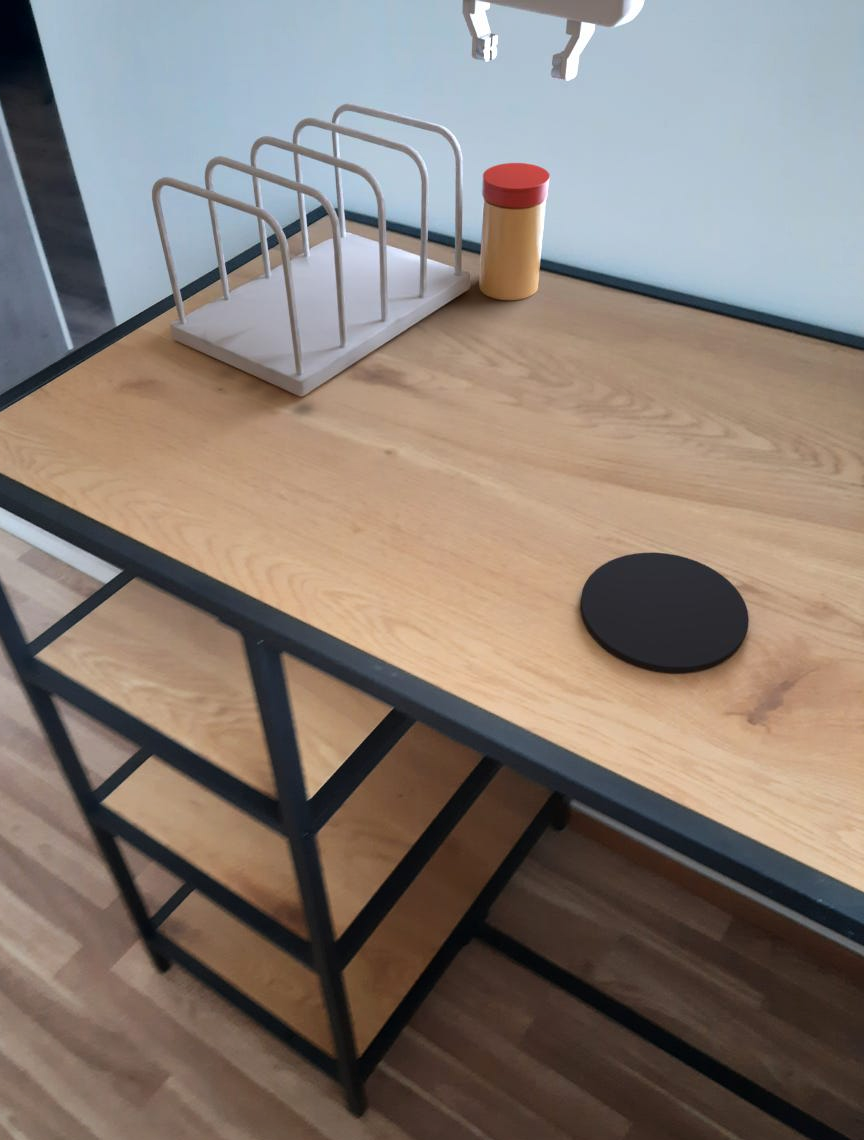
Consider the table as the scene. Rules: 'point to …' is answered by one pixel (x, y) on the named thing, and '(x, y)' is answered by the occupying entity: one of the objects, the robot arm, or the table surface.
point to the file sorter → (317, 273)
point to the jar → (511, 250)
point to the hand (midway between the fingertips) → (522, 68)
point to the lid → (515, 185)
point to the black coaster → (664, 612)
